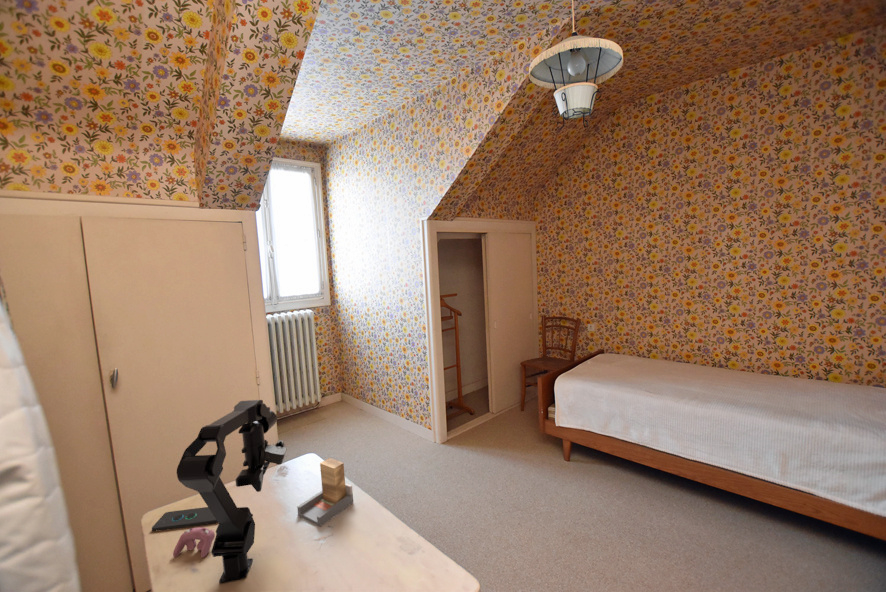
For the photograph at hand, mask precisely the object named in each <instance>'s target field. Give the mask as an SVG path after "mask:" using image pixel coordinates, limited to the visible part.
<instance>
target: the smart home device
mask: <svg viewBox="0 0 886 592" xmlns="http://www.w3.org/2000/svg"><path fill="white" fill-rule="evenodd" d="M213 524H219V523H218V521H217V520H216V518H215V517H214V515H213V514H212V512H211V511H210V509H209V508H208V506H205V507H197V508H189V509H180V510H173V511H167V512H165V513H163V515H162V516H161V517H160V518H159V519H158V520H157V521H156V522H155V523H154V524H153V526H152V527H151V532H157V531H156V530H162V531H168V530H167V529H170V530H176V529H183V528H191V527H193V528H194V527H199V526H200V527H201V526H206V525H213Z"/></svg>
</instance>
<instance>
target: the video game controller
mask: <svg viewBox="0 0 886 592" xmlns="http://www.w3.org/2000/svg"><path fill="white" fill-rule="evenodd" d="M215 533H216V532H214V530H212V529H209V528H207V527H203V526H200V527H199V526H195V527H193V528H189V529H187V530H185V531H183V533H182V534H181V535H180V537H179V539H178V541H177V542H176V545H175V546H174V549H173V552H172V554H173V558H177V557H178V556H179V555H180V554H181V553H182V552H183V550H184V548H185V547H186V550H188V551H192V550H194V549H195V548H196V549H197V550H198V551H200V557H201V558H205V557H206V556H207V555H208V554H209V552H210V550H211V547H212V544H213V541H214V540H215V537H216V534H215ZM198 540H199V541H198ZM197 541H198V542H197Z"/></svg>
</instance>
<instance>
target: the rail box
mask: <svg viewBox="0 0 886 592" xmlns="http://www.w3.org/2000/svg"><path fill="white" fill-rule="evenodd" d="M345 487H346V496H345V497H344V498H343V499H341V500H340V501H338V502H337V503H335V504H334V503H332V502H330V501H327V500H325V499H323V492H322V490H321V491H319V492H318V493H316V494H315V495H313V496H311V497H310V498H309V499H307V500H304V502H302V503H300V504H299V505H298V506H296V507H297V516H299V517H301V518H302V519H304V520H306V521H308V522H309V523H310V522H311V523H312V524H314V525H315V526H318V527H320V528H321V527H322V526H324V525H325V524H327V523H329V522H330V520H332V519H333V518H335V517H336V516H338V514H340V513H341V512H342V511H344V510H346V509H347V508H348V507H350V506H351V505H352V504H353V503H354V494H353V485H351V484H350V483H347V482H345Z"/></svg>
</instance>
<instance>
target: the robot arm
mask: <svg viewBox="0 0 886 592" xmlns="http://www.w3.org/2000/svg"><path fill="white" fill-rule="evenodd" d="M263 401H264V400H263V399H252V400H251V399H250V400H240V401H239V402H238V403H237V404H235V405H234V407H233V410H232V411H231V412H229V413H227V414H226V415H224V416H221V418H219V419H217V420H215V421H213V422H212V423H210V424H207V425H204V426H202V427H201V428H200V430H199V432H198V434H197V437H196V438H195V439H194V440H193V441H192V442H191V443H190V444H189V445H188V446H187V447H186V448H185V449H184V451H183V453H182V456H181V459H180V461H179V463H178V465H177V467H176V477H177V480H178V482H180V483H181V484H182V485H183V486H184V487H186V488H188V489H190V490H193V491H196V492H198V493H199V495H200V497H201V498H202V500H203V501H204V503H205V504H206V505H207V506H206V507H208V508H209V509H210V511H211V512H212V514H213V515H214V517H215V518H216V520H217V521H218V523H217V524H218V525H217V528H216V529H215V533H216V534H215V537H214V540H213V541H214V542H213V543H212V544H213V545H212V548H211V552H210V553H211V555H212V557H213V558H215V557H221V559H222V566H223V567H222V569H223V572H222V573H221V576H220V578H219V580H218V583H219V584H223V583H229V582H233V581H239V580H244V579H246V578H247V576H248V574H249V571H250V570H251V566H252V564H253V558H248V553H249V551H250V550H251V548H252V546H253V545H254V544H255V533H256V522H255V520H254V514H253V513H252V512H251V510H250V508H249V507H248V506H242V507H241V506H238V507H237V505H236V503H235V501H234V500H233V498H232V496H231V495H230V493H229V491H228V489H227V488H226V485H225V484H224V482H223V480H222V479H221V475H222V473H223V470H224V467H223V464H224V462H225V458H226V456H227V451H226V447H225V441H226V437H228V436H229V435H231V434H232V433H233V432H235V431H237V430H238V429H239V430H238V432H237V433H238V434H242V443H243V444H242V446H243V447H242V449H241V454H244V461H243V462H242V466H243V467H247V468H246V469H242V470H241V471H240V472H239V473H238V475H237V476H236V478H235V486H236V487H237V488H239V487H245V486H252V487H253V489H254V490H255V491H256V492H257V493H259V492H260V493H261V491H262V488H263V481H264V475H265V474H266V472H267V469H268V467H269V466H270V464H276V465H278V466H279V465H282V464H283V461H284V460H285V457H286V452H287V446H285V443H284V440H278V441H277V442H276V443H275V444H274V443H273V444H269V441H268V440H267V439H265V434H266V433H268V432H269V431H270V430H271V429H272V428H273V427H274V426H275V425H276V424H277V422H278V416H277V414H276V413H275V412H274V411H272V410H271V407H270V406H267V405H266V403H264V402H263ZM207 443H216V452H215V454H200V455H197V454H198V453H199V452H200V451H201V450H202V449H203V448H204V447H205V445H206V444H207Z"/></svg>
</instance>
